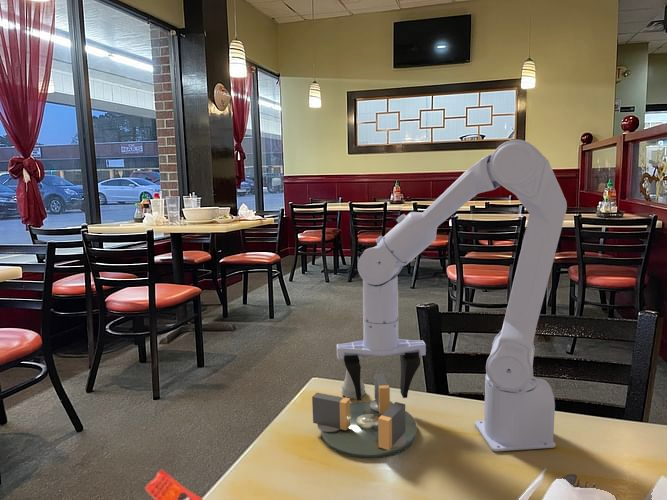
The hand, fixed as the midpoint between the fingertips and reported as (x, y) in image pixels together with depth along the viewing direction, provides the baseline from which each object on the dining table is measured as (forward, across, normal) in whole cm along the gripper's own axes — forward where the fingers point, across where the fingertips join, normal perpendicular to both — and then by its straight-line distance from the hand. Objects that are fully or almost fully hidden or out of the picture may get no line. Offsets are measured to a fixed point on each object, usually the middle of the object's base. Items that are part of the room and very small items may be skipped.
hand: (381, 396), depth 83 cm
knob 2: (+2, 0, +11) cm, 11 cm away
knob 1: (+2, +9, +5) cm, 10 cm away
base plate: (+3, +3, +5) cm, 7 cm away
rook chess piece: (+3, +4, -8) cm, 9 cm away
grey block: (+2, 0, 0) cm, 2 cm away
